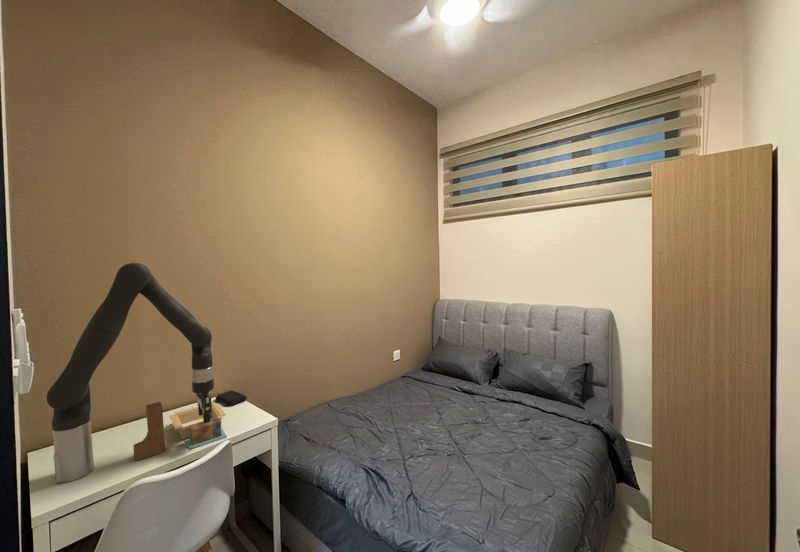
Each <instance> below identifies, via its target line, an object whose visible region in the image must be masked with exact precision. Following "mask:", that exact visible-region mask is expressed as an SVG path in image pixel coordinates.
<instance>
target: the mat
mask: <svg viewBox="0 0 800 552" xmlns="http://www.w3.org/2000/svg"><path fill="white" fill-rule="evenodd" d="M221 434H222V436H220V437H217V438H214V439H211V440H208V441H205V442H202V443H199V444H196V445H193V444H192V442H191V440H190V438H186V439H185V443H186V445H187V447H189V448H188V449H190V450H193V449H196V448H200V447H203V446H204V445H208V444H211V443H213V442H216V441H220V440H223V439H225V438H226V439H227V438H228V435H227V434H226V433H225V431H224V430H223V429H222V428H221Z"/></svg>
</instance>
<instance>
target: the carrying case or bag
mask: <svg viewBox="0 0 800 552" xmlns="http://www.w3.org/2000/svg"><path fill="white" fill-rule="evenodd" d="M247 398H248V397H247V396H246V395H245V394H243V393H240V392H238V391H236V390H231V389H230V390H228V391H225V392H223V393H219V394H218V395H216V397H215V400H216V401H217V402H220V403H222V405H223V406H228V407H233V406H235V405H238V404H241V403H243V402H245V401H246V400H247Z"/></svg>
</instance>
